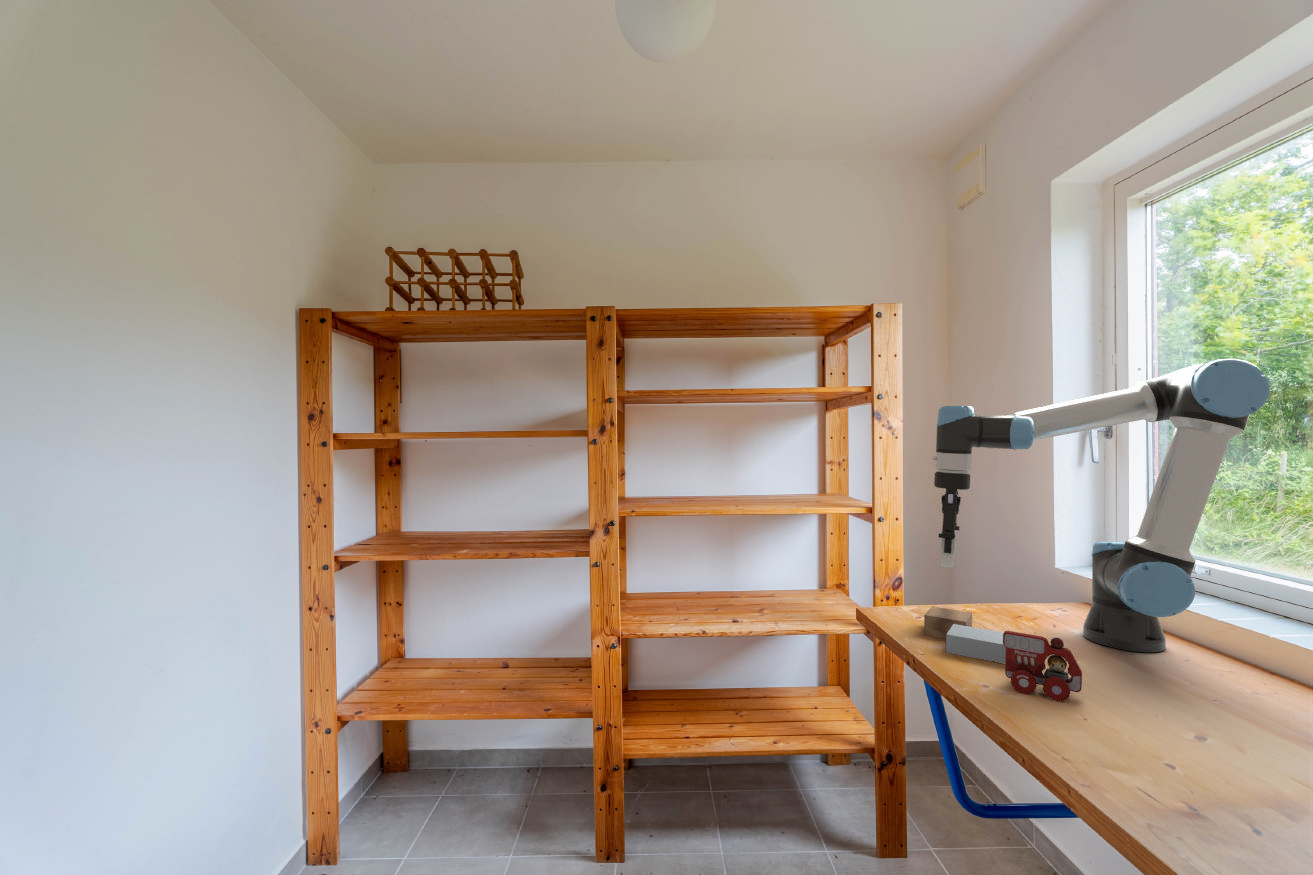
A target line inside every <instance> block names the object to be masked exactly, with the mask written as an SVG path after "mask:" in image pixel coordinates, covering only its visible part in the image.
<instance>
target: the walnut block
mask: <svg viewBox="0 0 1313 875" xmlns="http://www.w3.org/2000/svg"><path fill="white" fill-rule="evenodd" d="M923 618H924V619H923V620H924V621H923V622H924V623H923V624H924V626H923V632H924V633H923V634H924V636H929V637H930V636H931V637H935V638H940V639H946V634H947V633H948V631H949V630H950V628H951V627H952V625H953V624H957V625H963V626H969V627H973V612H970V611H963V610H957V609H951V608H946V607H945V608H944V607H938V606H931V607H930V608H929V609H928V610H927V611H926V613H924V615H923Z"/></svg>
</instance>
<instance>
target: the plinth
mask: <svg viewBox="0 0 1313 875" xmlns="http://www.w3.org/2000/svg"><path fill="white" fill-rule="evenodd" d="M1004 632H1005V631H997V630H992V629H985V628H980V627H973V626H972V627H969V626H963V625H957V624H953V625H952V627H951V628H950V630H949V631H948V633H947V634H946V640H945V642H946V647H945V648H946V650H945V651H946V653H948V654H953V655H957V656H962V657H963V656H964V657H968V658H972V659H978V660H982V659H984V660H983V661H987V660H988V662H992V661H995V662H994V663H998V662H999V664H1003V663H1004V664H1003V665H1005V658H1006V647H1005V646H1004V645H1003V633H1004Z"/></svg>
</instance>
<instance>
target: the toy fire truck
mask: <svg viewBox="0 0 1313 875" xmlns="http://www.w3.org/2000/svg"><path fill="white" fill-rule="evenodd" d="M1003 632H1004V633H1003V645H1004V646H1005V647H1006V658H1005V664H1004V673H1005V674H1004V675H1005V676H1006V677H1007V678H1008V679H1010V685H1011V687H1012V688H1013V690H1015V691H1016V692H1018V693H1019V694H1021V693H1022V694H1021V695H1030V694H1032V693H1034V692H1035V691H1036V690H1037V685H1038V686H1042V687H1043V688H1042V689H1043V692H1044V694H1045V695H1046V696H1047V698H1049V699H1050V700H1052V701H1054V700H1055V702H1060V701H1061V702H1065V701H1067V700H1068V699H1069V698H1070V695H1071V692H1073V693H1080V692H1081V691H1082V688H1083V671H1082V669H1081V667H1080V666H1079V663H1078V662H1077V660H1076V659H1075V656H1074V655H1073V653H1072V651H1071V650H1070V649H1069V648H1067V647H1064V645H1065V643H1064V641H1063V640H1062V638H1060V637H1056V636H1055V637H1052V639H1050V642H1049V640H1048V638H1047V637H1046V636H1041V635H1035V634H1031V633H1025V632H1019V631H1018V632H1017V631H1012V630H1005V631H1003ZM1046 659H1047V660H1046ZM1046 661H1047V666H1048V667H1047V668H1046ZM1067 666H1068V667H1067ZM1066 669H1067V671H1066ZM1044 670H1045V671H1044ZM1043 671H1044V672H1043ZM1069 676H1070V678H1069Z"/></svg>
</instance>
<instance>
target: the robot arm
mask: <svg viewBox="0 0 1313 875" xmlns="http://www.w3.org/2000/svg"><path fill="white" fill-rule="evenodd" d="M1270 393H1271V385H1270V381H1269V379H1268V376H1267V375H1266V374H1265V373H1264V371H1262V370H1261V368H1260V367H1258V366H1257V365H1255V364H1253V363H1251V362H1249V361H1246V360H1243V359H1238V358H1225V359H1224V358H1219V359H1218V358H1217V359H1212V360H1209V361H1206V362H1204V363H1200V364H1195V365H1190V366H1187V367H1184V368H1181V369H1178V370H1176V371H1173V372H1170V373H1166V374H1164V375H1162V376H1159V377H1156V378H1151V379H1148V380H1144V381H1143V380H1142V381H1138V382H1137V384H1135V386H1134V387H1132V388H1127V389H1122V390H1117V391H1112V392H1107V393H1104V394H1103V393H1102V394H1098V395H1093V396H1089V397H1084V398H1080V399H1074V400H1070V401H1064V402H1061V403H1055V404H1050V405H1046V406H1043V407H1042V406H1041V407H1037V408H1032V409H1027V410H1023V411H1017V412H1013V413H1007V414H1003V415H982V414H975V412H974V411H975V409H974V407H973V406H969V405H943V406H941V407H940V408H939V409H938V412H937V422H936V439H935V440H936V441H935V443H936V444H935V448H936V449H935V455H936V456H933V457H932V460H933V461H935V464H934V465H935V467H934V468H935V470H937V471H935V472H934V478H933V479H934V481H933V484H934V487H935V488H938V489H944V490H945V493H944V495H943V494H942V495H941V506H942V507H941V513H942V514H943V517H942V529H941V530H942V531H941V533H938V538H940V540H941V544H940V564H939V567H941V568H947V569H955V568H954V567H955V558H956V548H957V545H956V544H957V531H960V527H961V526H959V525H958V523H957V518H958V515H959V512H960V505H961V499H962V498H961V496H959V492H958V491H959V490H961V491H964V490H965V491H967V490H970V488H971V474H970V473H969V472H970V471H972V459H973V458H972V457H973V455H972V452H973V451H972V450H973V448H985V449H987V448H988V449H1002V450H1003V449H1004V450H1005V449H1006V450H1013V451H1016V450H1029V449H1030V448H1031V447H1032V446H1033V443H1034V441H1039V440H1042V439H1044V440H1045V439H1048V438H1049V439H1050V438H1054V437H1059V436H1064V435H1068V434H1075V433H1079V432H1085V431H1089V430H1095V429H1096V430H1097V429H1101V428H1105V427H1111V426H1117V425H1123V424H1127V423H1131V422H1132V423H1133V422H1137V421H1142V420H1144V421H1147V422H1148V423H1155V422H1161V421H1170V423H1171V424H1172V425H1173V426H1174V431H1173V434H1172V437H1171V439H1170V442H1169V446H1168V448H1167V451H1166V454H1165V456H1164V459H1163V462H1162V464H1161V467H1160V470H1159V473H1158V476H1157V479H1156V480H1155V481H1156V482H1155V485H1154V488H1153V490H1152V493H1151V496H1150V498H1149V502H1148V504H1147V506H1146V509H1145V512H1144V515H1143V518H1142V521H1141V524H1140V527H1139V528H1138V532H1137V535H1134V536H1133V537H1130V538H1128V539H1126V540H1125V541H1124V542H1117V541H1116V542H1115V541H1096V542H1095V543H1093V546H1092V552H1091V557H1092V559H1091V560H1092V564H1091V566H1092V567H1091V568H1092V570H1091V572H1092V573H1091V574H1092V576H1091V578H1092V581H1091V582H1092V583H1091V584H1092V586H1091V587H1092V590H1091V592H1092V594H1091V595H1092V601H1091V602H1092V603H1091V606H1090V608H1089V611H1088V614H1086V615H1087V616H1086V618H1085V620H1084V623H1083V626H1082V635H1083V637H1084V638H1086V639H1087V640H1089V641H1091V642H1093V643H1096V644H1099V645H1102V646H1105V647H1109V648H1113V649H1119V650H1122V651H1130V652H1137V653H1138V652H1139V653H1160V652H1163V651H1165V650H1166V649H1167V639H1166V636H1165V632H1164V631H1163V628H1162V625H1161V623H1160V620H1159V618H1169V617H1170V618H1171V617H1173V616H1176V615H1179V614H1182V613H1183V612H1185V611H1186V610H1187V609H1189V607H1190V606H1191V605H1192V603H1193V602H1194V599H1195V597H1196V587H1195V583H1194V581H1193V579H1192V577H1191V576H1192V572H1193V570H1194V567H1195V564H1196V559H1195V557H1194V556H1193V555H1192V554H1191V552H1190V548H1191V546H1192V543H1193V541H1194V538H1195V535H1196V533H1197V529H1198V527H1199V524H1200V521H1201V519H1202V516H1203V513H1204V510H1205V508H1206V504H1207V502H1208V499H1209V498H1210V494H1211V491H1212V489H1213V486H1214V483H1215V480H1216V478H1217V475H1218V472H1219V470H1220V467H1221V464H1222V461H1223V459H1224V456H1225V452H1226V451H1227V447H1228V445H1229V442H1230V440H1231V439H1232V438H1234V437H1236V436H1239V435H1240V434H1242V433H1244V430H1245V428H1246V425H1247V424H1248V421H1249V418H1250V415H1252V414H1254V413H1256V412H1257V411H1258V410H1260V409H1261V408H1262V407H1263V406H1265V404H1266V403H1267V402H1268V399H1269V397H1270Z"/></svg>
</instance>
